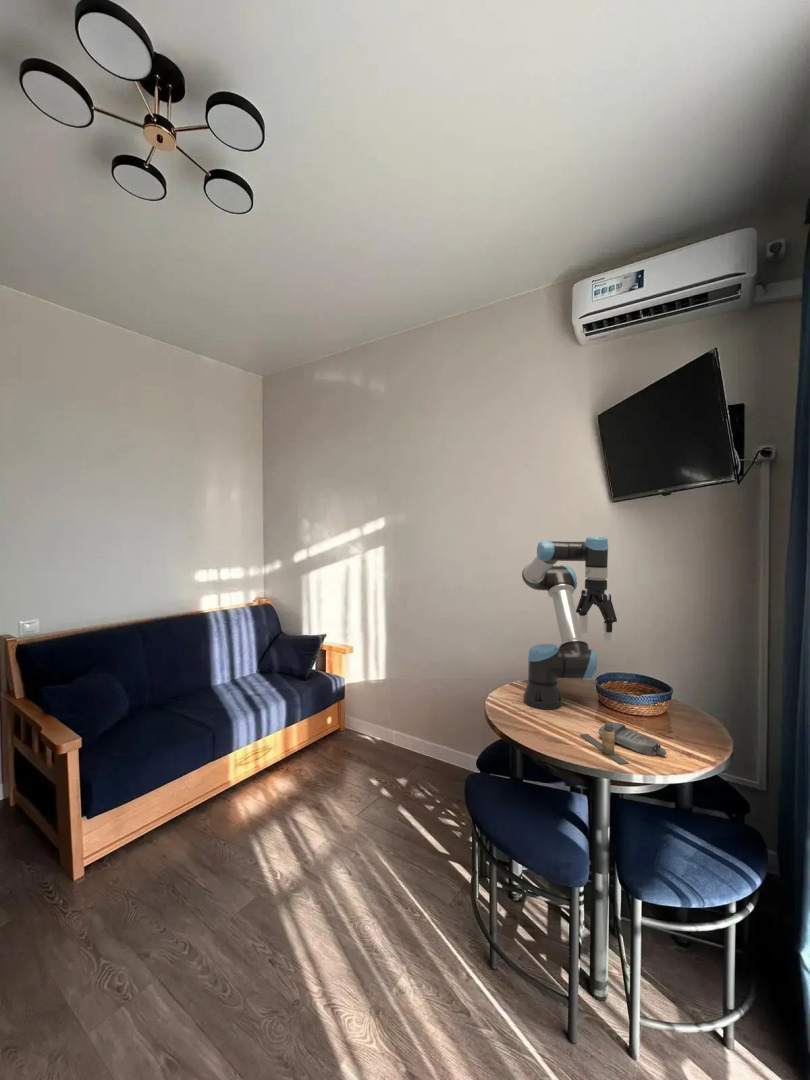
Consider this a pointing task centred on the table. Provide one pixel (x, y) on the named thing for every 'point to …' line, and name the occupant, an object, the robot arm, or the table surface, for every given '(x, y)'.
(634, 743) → the handheld device
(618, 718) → the table surface
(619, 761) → the strip
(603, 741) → the tan bottle
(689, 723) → the table surface
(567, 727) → the table surface
